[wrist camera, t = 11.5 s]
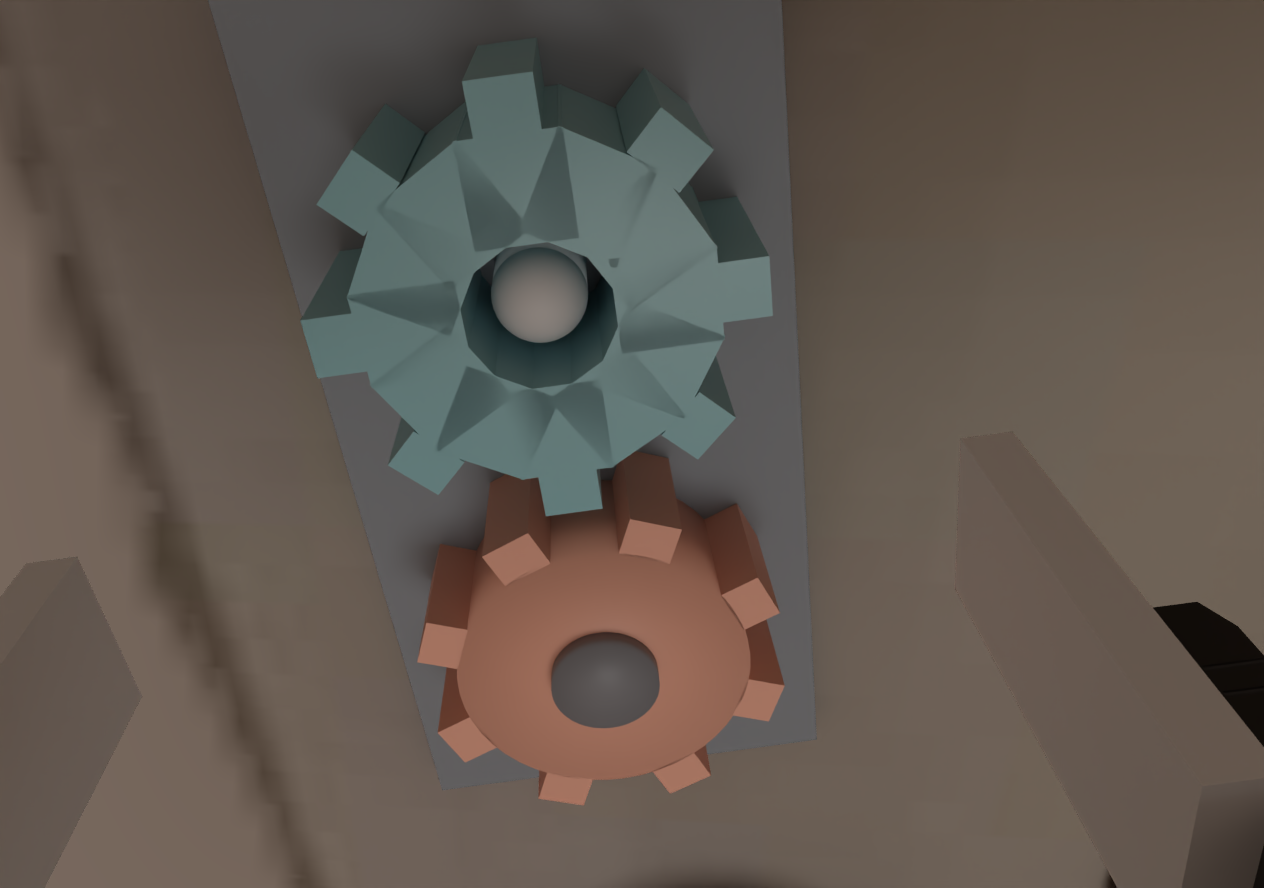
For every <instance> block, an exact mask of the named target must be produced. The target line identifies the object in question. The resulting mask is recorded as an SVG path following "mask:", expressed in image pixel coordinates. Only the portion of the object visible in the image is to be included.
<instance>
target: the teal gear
mask: <svg viewBox="0 0 1264 888" xmlns="http://www.w3.org/2000/svg"><path fill="white" fill-rule="evenodd" d="M462 85H463V90H464V95H465V100H466V101H465V102H464V103H463V104H462V105H461V106H459V107H458V108H457V109H456V110H455V111H453V112H452V113H451V114H450V115H449V116H447V117H446V118H445V119H444V120H443V121H441V122H440V123H439V124H438V125H437V126H435V127H434V128H433V129H432V130H431V131H429V132H428V133H427V134H426V135H425V136H424V134H425V132H424V131H422V130H421V129H420V128H418V127H417V126H415V125H414V124H413V123H411V122H410V121H409V120H407V119H406V118H404V117H403V116H402V115H400V114H399V113H398V112H396V111H395V110H393V109H392V108H391V107H389V106H388V105H386V104H385V105H384V106H383V108H382V109H381V110H380V112H379V113H378V114H377V116H376V117H375V119H374V120H373V121H372V123H371V124H370V125H369V127H368V128H367V130H366V131H365V132H364V134H363V135H362V136H361V138H360V139H359V141H358V142H357V143H356V145H355V146H354V148H353V149H352V150H351V152H350V153H349V155H348V157H347V158H346V160H345V161H344V163H343V164H342V166H341V167H340V169H339V170H338V172H337V173H336V175H335V177H334V178H333V180H332V181H331V183H330V184H329V186H328V187H327V189H326V190H325V192H324V194H323V195H322V197H321V198H320V200H319V201H318V203H317V204H316V205H318V206H319V207H321V208H322V209H324V210H325V211H327V212H328V213H330V214H331V215H333V216H334V217H336V218H337V219H339V220H340V221H342V222H343V223H345V224H346V225H348V226H349V227H351V228H352V229H354V230H355V231H357V232H358V233H360V234H361V235H363V236H364V235H365V234H366V233H367V236H366V239H365V242H364V245H363V248H360V249H352V250H345V251H339V253H338V255H337V257H336V258H335V260H334V262H333V264H332V265H331V267H330V269H329V271H328V273H327V274H326V276H325V278H324V280H323V281H322V283H321V285H320V287H319V288H318V290H317V292H316V294H315V296H314V297H313V299H312V301H311V303H310V304H309V306H308V308H307V310H306V311H305V313H304V315H303V317H302V318H301V320H300V321H301V324H302V328H303V331H304V334H305V338H306V341H307V345H308V348H309V351H310V355H311V358H312V361H313V365H314V368H315V371H316V375H317V378H323V377H331V376H338V375H345V374H353V373H360V372H367V373H368V376H369V380H370V386H371V387H372V388H373V389H374V390H375V391H376V392H377V393H378V394H379V395H380V396H381V397H382V398H383V399H384V400H385V401H386V402H387V403H388V404H389V405H390V406H391V407H392V408H393V409H394V410H395V411H396V412H397V413H398V414H399V415H400V416H401V420H400V424H399V427H398V431H397V434H396V438H395V441H394V445H393V449H392V452H391V456H390V459H389V463H388V466H390V467H391V468H393V469H395V470H397V471H398V472H400V473H402V474H403V475H405V476H407V477H408V478H410V479H412V480H414V481H415V482H417V483H419V484H420V485H422V486H424V487H425V488H427V489H429V490H431V491H432V492H434V493H436V494H437V495H439V494H440V492H441V491H442V490H443V489H444V487H445V486H446V485H447V484H448V482H449V481H450V480H451V479H452V477H453V476H454V475H455V474H456V472H457V471H458V470H459V469H460V467H461V466H462V465H463V464H464V462H465V461H467V462H471V463H474V464H477V465H480V466H483V467H486V468H489V469H492V470H495V471H498V472H501V473H504V474H507V475H510V476H514V477H517V478H520V479H521V480H525V479H530V478H537V477H538V478H539V484H540V489H541V494H542V499H543V504H544V509H545V515H546V516H552V515H560V514H567V513H574V512H582V511H589V510H596V509H603V506H602V492H601V478H600V469H603V468H612V467H614V466H615V465H616V464H618V463H619V462H620V461H622V460H623V459H625V458H626V457H628V456H629V455H631V454H632V453H634V452H635V451H636V450H638V449H639V448H641V447H642V446H644V445H645V444H647V443H648V442H650V441H651V440H652V439H654V438H655V437H657V436H658V435H660V434H661V435H662V436H663V437H665V438H666V439H668V440H669V441H671V442H672V443H674V444H675V445H677V446H678V447H680V448H681V449H683V450H684V451H686V452H687V453H689V454H690V455H692V456H693V457H695V458H696V459H699V458H700V457H701V456H702V455H703V453H704V452H705V451H706V450H707V449H708V448H709V447H710V446H711V445H712V444H713V442H714V441H715V440H716V439H717V438H718V437H719V436H720V435H721V434H722V433H723V431H724V430H725V429H726V428H727V427H728V426H729V425H730V424H731V423H732V422H733V420H734V419H735V418H736V416H735V413H734V410H733V407H732V404H731V401H730V398H729V395H728V392H727V389H726V385H725V382H724V379H723V376H722V373H721V370H720V367H719V364H718V361H717V358H716V354H717V352H718V350H719V348H720V346H721V344H722V342H723V340H725V339H724V338H725V334H724V327H723V323H724V322H732V321H739V320H746V319H754V318H761V317H768V316H773V309H772V292H771V275H770V258H769V254H768V253H767V251H766V249H765V247H764V245H763V243H762V242H761V240H760V238H759V236H758V234H757V232H756V231H755V229H754V227H753V225H752V223H751V221H750V220H749V218H748V216H747V214H746V212H745V210H744V208H743V207H742V205H741V203H740V201H739V199H738V197H730V198H723V199H716V200H708V201H701V202H698V199H697V197H696V194H695V192H694V190H693V187H692V186H690V184H689V183H688V182H689V180H690V179H691V178H692V177H693V175H694V174H695V173H696V172H697V170H698V169H699V168H700V167H701V165H702V164H703V163H704V162H705V160H706V159H707V158H708V157H709V155H710V154H711V153H712V152H713V150H714V149H713V147H712V145H711V143H710V142H709V140H708V138H707V136H706V134H705V133H704V131H703V129H702V127H701V125H700V124H699V122H698V120H697V118H696V116H695V114H694V113H693V111H692V109H691V107H690V105H689V104H688V103H687V102H685V101H684V100H683V99H682V98H680V97H679V96H678V95H677V94H676V93H674V92H673V91H672V90H671V89H669V88H668V87H667V86H666V85H665V84H663V83H662V82H661V81H660V80H658V79H657V78H656V77H655V76H654V75H652V74H651V73H650V72H649V71H647V70H646V69H645V68H644V69H643V70H642V71H641V73H640V74H639V76H638V77H637V78H636V80H635V81H634V82H633V84H632V85H631V86H630V88H629V89H628V90H627V92H626V93H625V94H624V96H623V97H622V98H621V100H620V101H619V102H618V104H617V105H616V108H614V107H612V106H609V105H607V104H605V103H602V102H600V101H598V100H595V99H593V98H590V97H588V96H586V95H583V94H581V93H579V92H576V91H574V90H572V89H569V88H567V87H565V86H562V84H558V85H552V86H545V87H544V81H543V75H542V68H541V62H540V56H539V49H538V43H537V37H536V38H529V39H522V40H514V41H507V42H500V43H493V44H486V45H478V46H477V48H476V51H475V53H474V55H473V57H472V60H471V62H470V64H469V66H468V69H467V71H466V73H465V75H464V78H463V80H462ZM367 231H368V232H367ZM545 242H549V243H551V244H554V245H557V246H559V247H562V248H564V249H567V250H570V251H572V252H575V253H577V254H580V255H583V256H585V257H587V258H588V259H589V260H590V261H591V262H592V264H593V265H594V266H595V267H596V269H597V270H598V271H599V272H600V273H601V278H600V280H599V282H598V285H597V287H596V289H594V290H593V291H592V292H590V293H589V294H588V302H587V307H586V310H585V313H584V315H583V317H582V319H581V321H580V322H579V323H578V325H577V326H576V327H575V328H574V329H573V330H572V331H571V332H570V333H568V334H567V335H565V336H564V337H562V338H560V339H558V340H555V341H551V342H545V343H535V342H529V341H526V340H523V339H520V338H518V337H516V336H515V335H513V334H512V333H510V332H509V331H508V330H507V329H506V328H505V327H504V326H503V325H502V324H501V322H500V321H499V319H498V318H497V316H496V314H495V311H494V309H493V305H492V300H491V287H492V286H491V285H490V284H489V283H488V282H487V281H486V280H485V279H484V277H483V276H482V275H481V270H480V268H481V267H482V266H483V265H485V264H486V263H487V262H489V261H490V260H491V259H492V258H494V257H495V256H496V255H498V254H499V253H500V252H501V251H503V250H504V249H505V248H509V247H516V246H524V245H531V244H538V243H545Z"/></svg>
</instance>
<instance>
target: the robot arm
mask: <svg viewBox="0 0 1264 888" xmlns="http://www.w3.org/2000/svg"><path fill="white" fill-rule="evenodd" d="M955 590H956V592H957V593H958V595H959V597H960V599H961V601H962V603H963V605H964V606H965V608H966V610H967V612H968V614H969V616H970V617H971V619H972V621H973V623H974V625H975V627H976V628H977V630H978V632H979V634H980V636H981V638H982V640H983V641H984V643H985V645H986V647H987V649H988V651H989V652H990V654H991V656H992V658H993V660H994V662H995V664H996V665H997V667H998V669H999V671H1000V673H1001V675H1002V676H1003V678H1004V680H1005V682H1006V684H1007V686H1008V687H1009V689H1010V691H1011V693H1012V695H1013V697H1014V699H1015V700H1016V702H1017V704H1018V706H1019V708H1020V710H1021V711H1022V713H1023V715H1024V717H1025V719H1026V721H1027V723H1028V724H1029V726H1030V728H1031V730H1032V732H1033V734H1034V735H1035V737H1036V739H1037V741H1038V743H1039V745H1040V746H1041V748H1042V750H1043V752H1044V754H1045V756H1046V758H1047V759H1048V761H1049V763H1050V765H1051V767H1052V769H1053V770H1054V772H1055V774H1056V776H1057V778H1058V780H1059V782H1060V783H1061V785H1062V787H1063V789H1064V791H1065V793H1066V794H1067V796H1068V798H1069V800H1070V802H1071V804H1072V805H1073V807H1074V809H1075V811H1076V813H1077V815H1078V817H1079V818H1080V820H1081V822H1082V824H1083V826H1084V828H1085V829H1086V831H1087V833H1088V835H1089V837H1090V839H1091V841H1092V842H1093V844H1094V846H1095V848H1096V850H1097V852H1098V853H1099V855H1100V857H1101V859H1102V861H1103V863H1104V864H1105V866H1106V868H1107V870H1108V872H1109V874H1110V876H1111V877H1112V879H1113V881H1114V883H1115V885H1116V887H1117V888H1264V655H1263V654H1262V653H1261V652H1260V651H1259V650H1258V648H1257V647H1256V646H1255V645H1254V644H1253V643H1252V642H1251V641H1250V639H1249V638H1248V637H1247V636H1246V635H1245V634H1244V633H1243V632H1242V630H1241V629H1240V628H1239V627H1238V626H1236V625H1235V624H1233V623H1231V622H1230V621H1228V620H1226V619H1225V618H1223V617H1221V616H1220V615H1218V614H1216V613H1215V612H1213V611H1212V610H1210V609H1208V608H1207V607H1205V606H1203V605H1202V604H1200V603H1198V602H1192V603H1185V604H1177V605H1169V606H1162V607H1154V608H1153V607H1152V606H1151V605H1150V604H1149V602H1148V601H1147V600H1146V599H1145V597H1144V596H1143V595H1142V594H1141V592H1140V591H1139V590H1138V589H1137V587H1136V586H1135V585H1134V584H1133V582H1132V581H1131V580H1130V579H1129V577H1128V576H1127V575H1126V574H1125V572H1124V571H1123V570H1122V569H1121V567H1120V566H1119V565H1118V563H1117V562H1116V561H1115V560H1114V558H1113V557H1112V556H1111V555H1110V553H1109V552H1108V551H1107V550H1106V548H1105V547H1104V546H1103V545H1102V543H1101V542H1100V541H1099V540H1098V538H1097V537H1096V536H1095V535H1094V533H1093V532H1092V531H1091V530H1090V528H1089V527H1088V526H1087V525H1086V523H1085V522H1084V521H1083V520H1082V518H1081V517H1080V516H1079V515H1078V513H1077V512H1076V511H1075V509H1074V508H1073V507H1072V506H1071V504H1070V503H1069V502H1068V501H1067V499H1066V498H1065V497H1064V496H1063V494H1062V493H1061V492H1060V491H1059V489H1058V488H1057V487H1056V486H1055V484H1054V483H1053V482H1052V481H1051V479H1050V478H1049V477H1048V476H1047V474H1046V473H1045V472H1044V471H1043V469H1042V468H1041V467H1040V466H1039V464H1038V463H1037V462H1036V460H1035V459H1034V458H1033V457H1032V455H1031V454H1030V453H1029V452H1028V450H1027V449H1026V448H1025V447H1024V445H1023V444H1022V443H1021V442H1020V440H1019V439H1018V438H1017V437H1016V435H1015V434H1014V433H1013V432H1005V433H997V434H990V435H982V436H975V437H967V438H960V464H959V491H958V518H957V546H956V573H955ZM141 698H142V695H141V693H140V691H139V689H138V687H137V684H136V682H135V680H134V678H133V676H132V674H131V671H130V670H129V667H128V665H127V663H126V661H125V659H124V656H123V654H122V652H121V650H120V648H119V646H118V644H117V642H116V639H115V637H114V635H113V633H112V631H111V628H110V626H109V624H108V622H107V620H106V618H105V615H104V613H103V611H102V609H101V607H100V605H99V603H98V601H97V598H96V596H95V594H94V592H93V590H92V588H91V585H90V583H89V581H88V579H87V577H86V575H85V572H84V570H83V568H82V566H81V564H80V562H79V560H78V557H71V558H63V559H56V560H49V561H41V562H33V563H26V564H25V566H24V567H23V568H22V569H21V571H20V572H19V574H18V575H17V576H16V577H15V578H14V580H13V581H12V582H11V584H10V585H9V586H8V587H7V589H6V590H5V591H4V593H3V594H2V595H1V596H0V888H45V886H46V884H47V882H48V880H49V878H50V876H51V874H52V872H53V870H54V868H55V866H56V864H57V862H58V860H59V858H60V857H61V855H62V852H63V851H64V849H65V847H66V845H67V843H68V841H69V839H70V837H71V835H72V833H73V831H74V829H75V827H76V825H77V823H78V821H79V819H80V817H81V815H82V813H83V811H84V809H85V807H86V806H87V803H88V801H89V800H90V798H91V796H92V794H93V792H94V790H95V788H96V785H97V784H98V782H99V780H100V778H101V776H102V774H103V772H104V770H105V768H106V766H107V764H108V762H109V760H110V758H111V756H112V755H113V753H114V751H115V749H116V747H117V745H118V743H119V741H120V739H121V737H122V735H123V733H124V730H125V729H126V727H127V725H128V723H129V721H130V719H131V717H132V715H133V713H134V711H135V709H136V707H137V706H138V704H139V702H140V700H141Z"/></svg>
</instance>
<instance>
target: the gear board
mask: <svg viewBox="0 0 1264 888" xmlns="http://www.w3.org/2000/svg"><path fill="white" fill-rule="evenodd" d="M208 2H209V6H210V9H211V12H212V16H213V19H214V22H215V26H216V29H217V32H218V36H219V39H220V43H221V46H222V49H223V53H224V56H225V59H226V63H227V66H228V70H229V73H230V76H231V80H232V83H233V86H234V90H235V93H236V96H237V100H238V103H239V107H240V110H241V113H242V117H243V120H244V123H245V127H246V130H247V134H248V137H249V140H250V144H251V147H252V150H253V154H254V157H255V161H256V164H257V167H258V171H259V174H260V177H261V181H262V184H263V187H264V191H265V194H266V198H267V201H268V204H269V208H270V211H271V214H272V218H273V221H274V225H275V228H276V231H277V235H278V238H279V241H280V245H281V248H282V251H283V255H284V258H285V262H286V265H287V268H288V272H289V275H290V278H291V282H292V285H293V289H294V292H295V295H296V299H297V302H298V305H299V309H300V312H301V315H302V317H303V315H304V313H305V311H306V310H307V308H308V306H309V304H310V303H311V301H312V299H313V297H314V296H315V294H316V292H317V290H318V288H319V287H320V285H321V283H322V281H323V280H324V278H325V276H326V274H327V273H328V271H329V269H330V267H331V265H332V264H333V262H334V260H335V258H336V257H337V255H338V253H339V251H345V250H352V249H360V248H363V245H364V242H365V239H366V236H367V233H366V234H365V235H364V236H363V235H361V234H360V233H358V232H357V231H355V230H354V229H352V228H351V227H349V226H348V225H346V224H345V223H343V222H342V221H340V220H339V219H337V218H336V217H334V216H333V215H331V214H330V213H328V212H327V211H325V210H324V209H322V208H321V207H319V206H318V205H316V204H317V203H318V201H319V200H320V198H321V197H322V195H323V194H324V192H325V190H326V189H327V187H328V186H329V184H330V183H331V181H332V180H333V178H334V177H335V175H336V173H337V172H338V170H339V169H340V167H341V166H342V164H343V163H344V161H345V160H346V158H347V157H348V155H349V153H350V152H351V150H352V149H353V148H354V146H355V145H356V143H357V142H358V141H359V139H360V138H361V136H362V135H363V134H364V132H365V131H366V130H367V128H368V127H369V125H370V124H371V123H372V121H373V120H374V119H375V117H376V116H377V114H378V113H379V112H380V110H381V109H382V108H383V106H384V105H385V104H386V105H388V106H389V107H391V108H392V109H393V110H395V111H396V112H398V113H399V114H400V115H402V116H403V117H404V118H406V119H407V120H409V121H410V122H411V123H413V124H414V125H415V126H417V127H418V128H420V129H421V130H422V131H424V132H425V134H424V136H425V135H426V134H427V133H428V132H429V131H431V130H432V129H433V128H434V127H435V126H437V125H438V124H439V123H440V122H441V121H443V120H444V119H445V118H446V117H447V116H449V115H450V114H451V113H452V112H453V111H455V110H456V109H457V108H458V107H459V106H461V105H462V104H463V103H464V102H465V101H466V100H465V95H464V90H463V85H462V80H463V78H464V75H465V73H466V71H467V69H468V66H469V64H470V62H471V60H472V57H473V55H474V53H475V51H476V48H477V46H478V45H486V44H493V43H500V42H507V41H514V40H522V39H529V38H536V37H537V43H538V49H539V56H540V62H541V68H542V75H543V81H544V87H545V86H552V85H558V84H562V86H565V87H567V88H569V89H572V90H574V91H576V92H579V93H581V94H583V95H586V96H588V97H590V98H593V99H595V100H598V101H600V102H602V103H605V104H607V105H609V106H612V107H614V108H616V105H617V104H618V102H619V101H620V100H621V98H622V97H623V96H624V94H625V93H626V92H627V90H628V89H629V88H630V86H631V85H632V84H633V82H634V81H635V80H636V78H637V77H638V76H639V74H640V73H641V71H642V70H643V69H644V68H645V69H646V70H647V71H649V72H650V73H651V74H652V75H654V76H655V77H656V78H657V79H658V80H660V81H661V82H662V83H663V84H665V85H666V86H667V87H668V88H669V89H671V90H672V91H673V92H674V93H676V94H677V95H678V96H679V97H680V98H682V99H683V100H684V101H685V102H687V103H688V104H689V105H690V107H691V109H692V111H693V113H694V114H695V116H696V118H697V120H698V122H699V124H700V125H701V127H702V129H703V131H704V133H705V134H706V136H707V138H708V140H709V142H710V143H711V145H712V147H713V149H714V150H713V152H712V153H711V154H710V155H709V157H708V158H707V159H706V160H705V162H704V163H703V164H702V165H701V167H700V168H699V169H698V170H697V172H696V173H695V174H694V175H693V177H692V178H691V179H690V180H689V182H688V183H689V184H690V186H692V187H693V190H694V192H695V194H696V197H697V199H698V202H701V201H708V200H716V199H723V198H730V197H738V199H739V201H740V203H741V205H742V207H743V208H744V210H745V212H746V214H747V216H748V218H749V220H750V221H751V223H752V225H753V227H754V229H755V231H756V232H757V234H758V236H759V238H760V240H761V242H762V243H763V245H764V247H765V249H766V251H767V253H768V254H769V258H770V275H771V292H772V309H773V316H768V317H761V318H754V319H746V320H739V321H732V322H724V323H723V327H724V334H725V338H724V339H725V340H723V342H722V344H721V346H720V348H719V350H718V352H717V354H716V358H717V361H718V364H719V367H720V370H721V373H722V376H723V379H724V382H725V385H726V389H727V392H728V395H729V398H730V401H731V404H732V407H733V410H734V413H735V416H736V418H735V419H734V420H733V422H732V423H731V424H730V425H729V426H728V427H727V428H726V429H725V430H724V431H723V433H722V434H721V435H720V436H719V437H718V438H717V439H716V440H715V441H714V442H713V444H712V445H711V446H710V447H709V448H708V449H707V450H706V451H705V452H704V453H703V455H702V456H701V457H700V458H699V459H696V458H695V457H693V456H692V455H690V454H689V453H687V452H686V451H684V450H683V449H681V448H680V447H678V446H677V445H675V444H674V443H672V442H671V441H669V440H668V439H666V438H665V437H663V436H662V435H661V434H660V435H658V436H657V437H655V438H654V439H652V440H651V441H650V442H648V443H647V444H645V445H644V446H642V447H641V448H639V449H638V450H636V451H635V452H634V453H632V454H631V455H629V456H628V457H626V458H625V459H623V460H622V461H620V462H619V463H618V464H616V465H615V466H614V467H612V468H603V469H600V478H601V492H602V506H603V509H596V510H589V511H582V512H574V513H567V514H560V515H552V516H546V515H545V509H544V504H543V499H542V494H541V489H540V484H539V478H538V477H537V478H530V479H525V480H521V479H520V478H517V477H514V476H510V475H507V474H504V473H501V472H498V471H495V470H492V469H489V468H486V467H483V466H480V465H477V464H474V463H471V462H467V461H465V462H464V464H463V465H462V466H461V467H460V469H459V470H458V471H457V472H456V474H455V475H454V476H453V477H452V479H451V480H450V481H449V482H448V484H447V485H446V486H445V487H444V489H443V490H442V491H441V492H440V494H439V495H437V494H436V493H434V492H432V491H431V490H429V489H427V488H425V487H424V486H422V485H420V484H419V483H417V482H415V481H414V480H412V479H410V478H408V477H407V476H405V475H403V474H402V473H400V472H398V471H397V470H395V469H393V468H391V467H390V466H388V463H389V459H390V456H391V452H392V449H393V445H394V441H395V438H396V434H397V431H398V427H399V424H400V420H401V416H400V415H399V414H398V413H397V412H396V411H395V410H394V409H393V408H392V407H391V406H390V405H389V404H388V403H387V402H386V401H385V400H384V399H383V398H382V397H381V396H380V395H379V394H378V393H377V392H376V391H375V390H374V389H373V388H372V387H371V386H370V380H369V376H368V373H367V372H360V373H353V374H345V375H338V376H331V377H323V378H320V379H321V383H322V386H323V390H324V393H325V396H326V400H327V403H328V406H329V410H330V413H331V417H332V420H333V423H334V427H335V430H336V433H337V437H338V440H339V443H340V447H341V450H342V454H343V457H344V460H345V464H346V467H347V470H348V474H349V477H350V481H351V484H352V487H353V491H354V494H355V497H356V501H357V504H358V508H359V511H360V514H361V518H362V521H363V524H364V528H365V531H366V534H367V538H368V541H369V545H370V548H371V551H372V555H373V558H374V561H375V565H376V568H377V572H378V575H379V578H380V582H381V585H382V588H383V592H384V595H385V598H386V602H387V605H388V609H389V612H390V615H391V619H392V622H393V625H394V629H395V632H396V636H397V639H398V642H399V646H400V649H401V652H402V656H403V659H404V662H405V666H406V669H407V673H408V676H409V679H410V683H411V686H412V689H413V693H414V696H415V700H416V703H417V706H418V710H419V713H420V716H421V720H422V723H423V726H424V730H425V733H426V737H427V740H428V743H429V747H430V750H431V753H432V757H433V760H434V764H435V767H436V770H437V774H438V777H439V780H440V784H441V787H442V790H448V789H455V788H462V787H470V786H477V785H484V784H492V783H499V782H507V781H514V780H521V779H529V778H536V777H539V799H544V800H551V801H558V802H565V803H571V804H578V805H584V803H585V800H586V798H587V795H588V792H589V789H590V786H591V783H592V781H593V780H609V779H620V778H627V777H633V776H638V775H643V774H646V773H650V772H653V773H654V774H655V775H656V776H657V778H658V779H659V780H660V781H661V783H662V784H663V785H664V787H665V788H666V789H667V790H668V792H669V793H673V792H675V791H677V790H679V789H682V788H684V787H686V786H688V785H690V784H693V783H695V782H697V781H699V780H702V779H704V778H706V777H708V776H711V773H710V767H709V761H708V755H707V754H713V753H721V752H728V751H735V750H743V749H750V748H757V747H765V746H772V745H780V744H787V743H794V742H802V741H809V740H817V737H816V716H815V695H814V673H813V652H812V631H811V610H810V589H809V568H808V547H807V526H806V504H805V483H804V462H803V441H802V420H801V399H800V378H799V357H798V335H797V314H796V293H795V272H794V251H793V230H792V209H791V187H790V166H789V145H788V124H787V103H786V82H785V61H784V40H783V18H782V0H208ZM367 232H368V231H367ZM480 270H481V275H482V276H483V277H484V279H485V280H486V281H487V282H488V283H489V284H490V285H491V286H492V287H491V300H492V305H493V309H494V311H495V314H496V316H497V318H498V319H499V321H500V322H501V324H502V325H503V326H504V327H505V328H506V329H507V330H508V331H509V332H510V333H512V334H513V335H515V336H516V337H518V338H520V339H523V340H526V341H529V342H535V343H545V342H551V341H555V340H558V339H560V338H562V337H564V336H565V335H567V334H568V333H570V332H571V331H572V330H573V329H574V328H575V327H576V326H577V325H578V323H579V322H580V321H581V319H582V317H583V315H584V313H585V310H586V307H587V302H588V294H589V293H590V292H592V291H593V290H594V289H596V287H597V285H598V282H599V280H600V278H601V273H600V272H599V271H598V270H597V269H596V267H595V266H594V265H593V264H592V262H591V261H590V260H589V259H588V258H587V257H585V256H583V255H580V254H577V253H575V252H572V251H570V250H567V249H564V248H562V247H559V246H557V245H554V244H551V243H549V242H545V243H538V244H531V245H524V246H516V247H509V248H505V249H504V250H503V251H501V252H500V253H499V254H498V255H496V256H495V257H494V258H492V259H491V260H490V261H489V262H487V263H486V264H485V265H483V266H482V267H481V268H480Z"/></svg>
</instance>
